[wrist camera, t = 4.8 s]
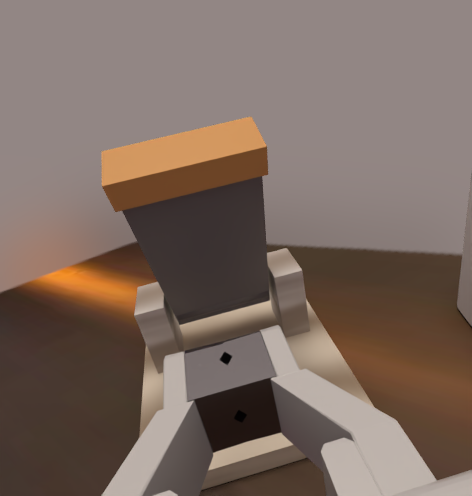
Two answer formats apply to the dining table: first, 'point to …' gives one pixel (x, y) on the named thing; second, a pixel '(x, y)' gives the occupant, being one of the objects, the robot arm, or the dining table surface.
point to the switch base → (231, 326)
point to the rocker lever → (197, 214)
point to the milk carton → (466, 267)
